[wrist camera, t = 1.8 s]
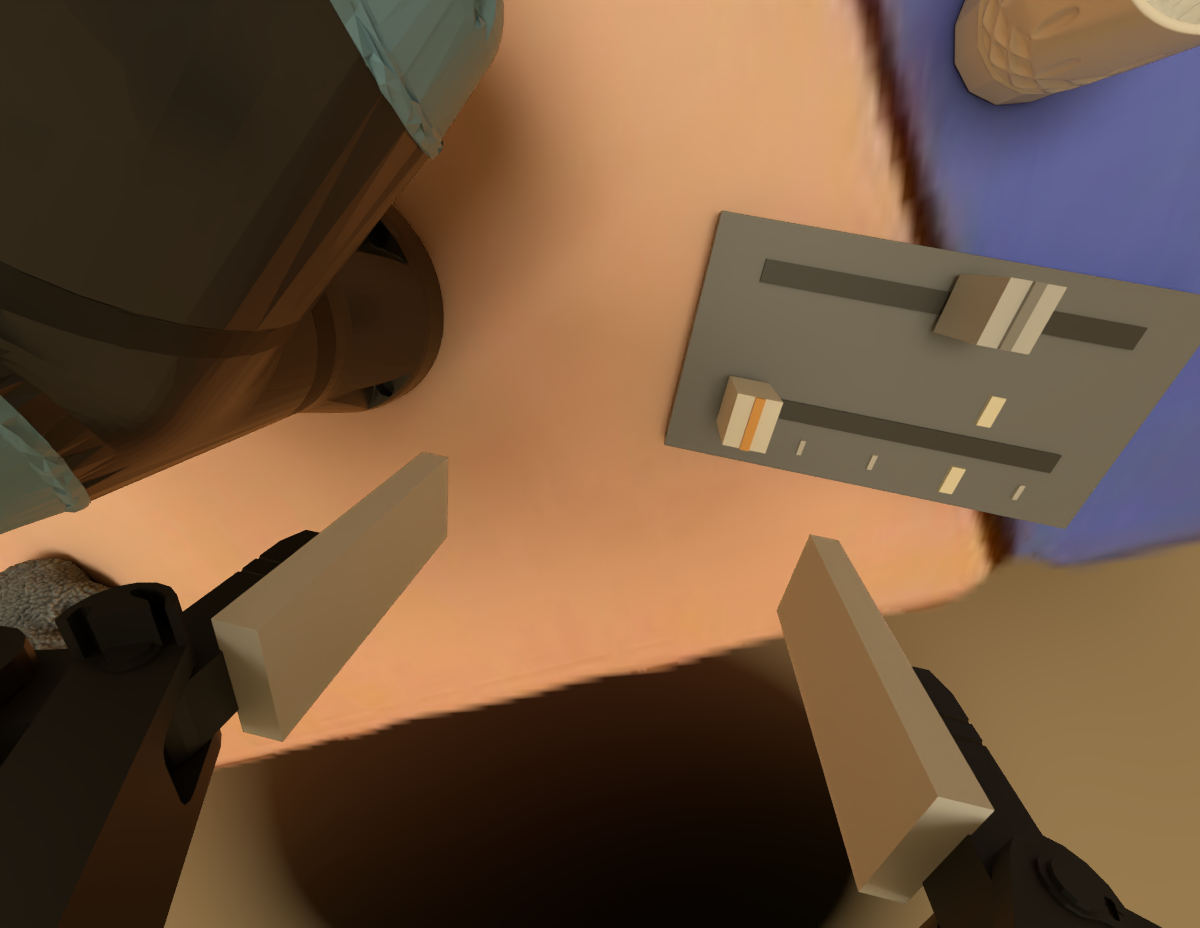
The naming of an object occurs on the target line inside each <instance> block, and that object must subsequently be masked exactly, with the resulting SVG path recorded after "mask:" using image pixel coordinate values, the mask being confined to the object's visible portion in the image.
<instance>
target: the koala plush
mask: <svg viewBox="0 0 1200 928" xmlns="http://www.w3.org/2000/svg"><path fill="white" fill-rule="evenodd" d="M107 589H110V587H107V586H103V585H102V584H98V583H94V582H92V581H91V580H90V578H89V577H88V576H87V575H86V574H85V573H84V571H82V570H81V569H80V568H78V567H77V566H76V564H72V562H71V561H65V560H62V559H59V558H49V559H46V558H45V559H37V560H28V561H25V562H23V563H18V564H15V565H14V566H10V567H9V568H7V569H6V570H5V571H3V572H1V573H0V626H6V627H13V628H18V629H19V630H20V631H21V632H23V633H24V634H25V635H26V637H27V638H28V640H29V642H30V644H31V646H32V648H33V650H46V649H68V648H67V646H66V644H65V642H64V639H63V637H62V635H61V633H60V631H59V629H58V627H57V625H56V623H55V621H54V620H55V619H56V618H57V617H59V616H60V615H61V614H62V613H63V612H64V611H65V610H67V609H68V608H69V607H70V606H72V605H74V604H76V603H78V602H79V601H81V600H83V599H85V598H87V597H89V596H90V595H93V594H96V593H99V592H102V591H104V590H107Z"/></svg>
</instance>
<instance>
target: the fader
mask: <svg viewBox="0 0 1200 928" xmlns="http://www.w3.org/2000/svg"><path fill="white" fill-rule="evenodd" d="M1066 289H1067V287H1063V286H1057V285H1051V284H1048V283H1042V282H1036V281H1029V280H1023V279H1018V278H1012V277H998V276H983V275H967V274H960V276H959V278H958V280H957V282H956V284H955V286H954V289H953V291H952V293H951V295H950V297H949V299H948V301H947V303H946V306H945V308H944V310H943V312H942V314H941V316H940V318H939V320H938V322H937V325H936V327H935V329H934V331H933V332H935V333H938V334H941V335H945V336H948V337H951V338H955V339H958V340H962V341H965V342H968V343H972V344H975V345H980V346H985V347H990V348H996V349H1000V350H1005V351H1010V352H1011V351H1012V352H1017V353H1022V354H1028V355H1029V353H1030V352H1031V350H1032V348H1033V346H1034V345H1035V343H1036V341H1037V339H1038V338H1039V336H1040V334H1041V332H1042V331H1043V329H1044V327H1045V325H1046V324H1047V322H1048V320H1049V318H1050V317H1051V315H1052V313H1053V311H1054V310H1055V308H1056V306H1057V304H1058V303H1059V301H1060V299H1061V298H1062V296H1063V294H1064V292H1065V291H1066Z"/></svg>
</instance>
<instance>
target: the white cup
mask: <svg viewBox="0 0 1200 928" xmlns="http://www.w3.org/2000/svg"><path fill="white" fill-rule="evenodd" d="M1198 46H1200V0H965V1H964V4H963V6H962V9H961V12H960V14H959V17H958V19H957V22H956V24H955V65H956V67H957V69H958V71H959V73H960V75H961V77H962V79H963V81H964V83H965V85H966V87H967V89H968V91H969V92H971V93H973V94H975V95H977V96H979V97H981V98H983V99H985V100H987V101H989V102H991V103H993V104H995V105H1003V104H1014V103H1025V102H1032V101H1035V100H1038V99H1041V98H1043V97H1046V96H1049V95H1051V94H1054V93H1057V92H1061V91H1065V90H1069V89H1073V88H1077V87H1080V86H1084V85H1087V84H1090V83H1093V82H1095V81H1098V80H1101V79H1104V78H1108V77H1111V76H1115V75H1118V74H1121V73H1124V72H1127V71H1130V70H1133V69H1136V68H1138V67H1141V66H1144V65H1147V64H1150V63H1153V62H1155V61H1158V60H1161V59H1164V58H1167V57H1170V56H1172V55H1175V54H1178V53H1181V52H1184V51H1187V50H1189V49H1192V48H1195V47H1198Z"/></svg>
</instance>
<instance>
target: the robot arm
mask: <svg viewBox="0 0 1200 928" xmlns="http://www.w3.org/2000/svg"><path fill="white" fill-rule="evenodd" d="M503 24H504V2H503V0H0V534H3V533H5V532H8V531H11V530H13V529H16V528H19V527H21V526H24V525H27V524H30V523H33V522H36V521H39V520H42V519H45V518H48V517H51V516H54V515H57V514H60V513H63V512H77V511H80V510H82V509H85V508H86V507H88V505H89V503H91V501H92V500H94V499H97V498H99V497H101V496H104V495H106V494H108V493H111V492H113V491H115V490H118V489H120V488H122V487H125V486H127V485H129V484H132V483H134V482H136V481H139V480H141V479H143V478H146V477H148V476H150V475H153V474H155V473H157V472H160V471H162V470H165V469H167V468H169V467H172V466H174V465H176V464H179V463H181V462H183V461H186V460H188V459H190V458H193V457H195V456H197V455H200V454H202V453H204V452H207V451H209V450H211V449H214V448H216V447H218V446H221V445H223V444H225V443H228V442H230V441H232V440H235V439H237V438H240V437H242V436H244V435H247V434H249V433H251V432H254V431H256V430H258V429H261V428H263V427H265V426H268V425H270V424H272V423H275V422H277V421H279V420H281V419H283V418H286V417H288V416H291V415H293V414H296V413H347V412H360V411H366V410H370V409H374V408H377V407H380V406H383V405H385V404H387V403H389V402H391V401H393V400H395V399H397V398H399V397H401V396H403V395H404V394H406V393H408V392H409V391H411V390H412V389H413V388H414V387H416V386H417V385H418V384H419V383H420V382H421V381H422V379H423V378H424V377H425V376H426V374H427V373H428V371H429V370H430V368H431V366H432V365H433V363H434V360H435V358H436V356H437V353H438V350H439V346H440V342H441V337H442V330H443V306H442V298H441V292H440V287H439V283H438V280H437V276H436V273H435V270H434V268H433V265H432V263H431V260H430V258H429V256H428V254H427V252H426V250H425V248H424V246H423V244H422V243H421V241H420V239H419V238H418V236H417V235H416V233H415V232H414V230H413V229H412V228H411V226H410V225H409V224H408V222H407V221H406V220H405V219H404V218H403V216H402V215H401V214H400V213H399V212H398V211H397V210H396V209H395V208H394V207H393V206H392V205H391V204H392V203H393V202H394V200H395V199H396V198H397V197H398V195H399V194H400V193H401V192H402V190H403V189H404V188H405V186H406V185H407V184H408V183H409V181H410V180H411V179H412V178H413V176H414V175H415V174H416V173H417V171H418V170H419V169H420V168H421V166H422V165H423V164H424V163H425V161H426V160H427V159H428V158H431V159H432V160H433V159H434V158H435V157H437V156H438V155H439V153H440V151H441V150H442V148H443V141H442V138H443V136H444V135H445V133H446V132H447V130H448V129H449V127H450V126H451V124H452V123H453V121H454V119H455V118H456V116H457V115H458V113H459V112H460V110H461V109H462V107H463V106H464V104H465V103H466V101H467V100H468V98H469V97H470V95H471V93H472V92H473V90H474V89H475V87H476V86H477V84H478V83H479V81H480V80H481V78H482V77H483V75H484V74H485V72H486V71H487V69H488V68H489V66H490V65H491V63H492V62H493V60H494V58H495V56H496V53H497V51H498V48H499V45H500V42H501V37H502V32H503ZM447 506H448V457H444V456H439V455H435V454H430V453H425V452H422V453H421V454H419V455H418V456H417V457H416V458H414V459H413V460H412V461H410V462H409V463H408V464H407V465H405V466H404V467H403V468H402V469H400V470H399V471H398V472H397V473H395V474H394V475H393V476H391V477H390V478H389V479H388V480H386V481H385V482H384V483H383V484H381V485H380V486H379V487H378V488H376V489H375V490H374V491H372V492H371V493H370V494H369V495H367V496H366V497H365V498H364V499H362V500H361V501H360V502H358V503H357V504H356V505H355V506H353V507H352V508H351V509H350V510H348V511H347V512H346V513H345V514H343V515H342V516H341V517H339V518H338V519H337V520H336V521H334V522H333V523H332V524H331V525H329V526H328V527H327V528H326V529H324V530H323V531H322V532H320V533H318V532H313V531H309V530H305V531H302V532H300V533H298V534H295V535H293V536H290V537H288V538H286V539H283V540H281V541H279V542H278V543H276V544H275V545H274V546H272V547H271V548H270V549H268V550H267V551H265V552H264V553H263V554H261V555H260V557H259V559H255V560H253V561H252V562H250V563H249V564H248V565H246V566H245V567H244V568H243V569H242V571H241V572H237V573H235V574H234V575H233V576H231V577H230V578H228V579H227V580H226V581H224V582H223V583H222V584H220V585H219V586H217V587H216V588H215V589H213V590H212V591H211V592H209V593H208V594H207V595H205V596H204V597H202V598H201V599H200V600H198V601H197V602H196V603H194V604H193V605H191V606H190V607H189V608H187V609H186V610H185V611H183V612H182V609H181V606H180V603H179V600H178V597H177V594H176V593H175V592H174V591H173V589H172V588H171V587H170V586H166V585H163V584H160V583H133V584H127V585H122V586H117V587H113V588H110V589H107V590H104V591H102V592H99V593H96V594H93V595H90V596H89V597H87V598H85V599H83V600H81V601H79V602H78V603H76V604H74V605H72V606H70V607H69V608H68V609H67V610H65V611H64V612H63V613H62V614H61V615H60V616H59V617H57V618H56V619H55V620H54V621H55V623H56V625H57V627H58V629H59V631H60V633H61V635H62V637H63V639H64V642H65V644H66V646H67V648H68V649H46V650H33V648H32V646H31V644H30V642H29V640H28V638H27V637H26V635H25V634H24V633H23V632H21V631H20V630H19V629H18V628H13V627H6V626H0V928H164V925H165V922H166V919H167V915H168V912H169V909H170V906H171V902H172V899H173V896H174V893H175V890H176V887H177V884H178V881H179V877H180V874H181V871H182V868H183V865H184V862H185V858H186V855H187V852H188V849H189V846H190V843H191V839H192V836H193V833H194V830H195V826H196V823H197V820H198V817H199V814H200V810H201V808H202V804H203V801H204V798H205V795H206V792H207V788H208V785H209V782H210V779H211V776H212V773H213V770H214V766H215V763H216V760H217V757H218V754H219V750H220V747H221V731H220V728H221V727H222V726H223V725H224V724H225V723H226V722H227V721H228V720H229V719H230V718H231V717H232V716H233V715H234V714H235V712H236V711H237V712H238V715H239V719H240V722H241V726H242V729H243V732H246V733H250V734H254V735H258V736H262V737H265V738H269V739H273V740H277V741H281V742H283V741H284V740H285V738H286V737H287V736H288V735H289V733H290V732H291V731H292V730H293V728H294V727H295V726H296V725H297V723H298V722H299V721H300V720H301V718H302V717H303V716H304V715H305V713H306V712H307V711H308V710H309V708H310V707H311V706H312V705H313V703H314V702H315V701H316V700H317V698H318V697H319V696H320V695H321V693H322V692H323V691H324V690H325V688H326V687H327V686H328V685H329V683H330V682H331V681H332V680H333V678H334V677H335V676H336V675H337V673H338V672H339V671H340V670H341V668H342V667H343V666H344V665H345V663H346V662H347V661H348V660H349V658H350V657H351V656H352V655H353V653H354V652H355V651H356V650H357V648H358V647H359V646H360V645H361V643H362V642H363V641H364V640H365V638H366V637H367V636H368V635H369V633H370V632H371V631H372V630H373V628H374V627H375V626H376V625H377V623H378V622H379V621H380V620H381V619H382V617H383V616H384V615H385V614H386V612H387V611H388V610H389V609H390V607H391V606H392V605H393V604H394V602H395V601H396V600H397V599H398V597H399V596H400V595H401V594H402V592H403V591H404V590H405V589H406V587H407V586H408V585H409V584H410V582H411V581H412V580H413V579H414V577H415V576H416V575H417V574H418V572H419V571H420V570H421V569H422V567H423V566H424V565H425V564H426V562H427V561H428V560H429V559H430V557H431V556H432V555H433V554H434V552H435V551H436V550H437V549H438V547H439V546H440V545H441V544H442V542H443V541H444V540H445V539H446V537H447ZM777 613H778V617H779V620H780V623H781V627H782V630H783V634H784V637H785V641H786V644H787V648H788V651H789V654H790V658H791V661H792V664H793V668H794V671H795V675H796V678H797V682H798V685H799V688H800V692H801V696H802V699H803V702H804V706H805V709H806V713H807V716H808V719H809V723H810V727H811V730H812V733H813V737H814V740H815V744H816V747H817V750H818V754H819V757H820V760H821V764H822V768H823V771H824V774H825V778H826V781H827V785H828V788H829V792H830V795H831V798H832V802H833V805H834V809H835V812H836V816H837V819H838V822H839V826H840V829H841V833H842V836H843V840H844V843H845V846H846V850H847V853H848V857H849V860H850V864H851V867H852V871H853V874H854V878H855V881H856V884H857V888H858V891H859V892H862V893H866V894H870V895H874V896H878V897H882V898H885V899H889V900H893V901H897V902H901V903H907V902H908V901H909V900H910V899H911V898H912V897H913V895H914V894H915V893H916V892H917V891H918V890H919V889H920V888H921V887H922V886H924V889H925V891H926V893H927V896H928V899H929V901H930V904H931V906H932V909H933V911H934V914H933V915H932V916H931V917H930V918H929V919H928V920H927V921H925V922H924V923H923V924H922V925H921V926H920V927H919V928H1161V927H1159V926H1158V925H1156V924H1154V923H1152V922H1150V921H1149V920H1147V919H1145V918H1142V917H1141V916H1139V915H1137V914H1135V913H1134V912H1132V911H1130V910H1128V909H1126V908H1125V907H1124V906H1123V905H1122V903H1121V902H1120V901H1119V899H1118V898H1117V896H1116V895H1115V894H1114V892H1113V891H1112V889H1111V888H1110V887H1109V885H1108V884H1107V883H1106V882H1105V881H1104V880H1103V879H1102V878H1101V877H1100V876H1098V874H1096V872H1095V871H1094V870H1093V869H1092V868H1091V867H1090V866H1089V865H1088V864H1087V863H1086V862H1084V861H1083V860H1082V859H1080V858H1079V857H1078V856H1076V855H1075V854H1073V853H1072V852H1071V851H1069V850H1068V849H1067V848H1066V847H1064V846H1063V845H1061V844H1059V843H1057V842H1055V841H1053V840H1051V839H1049V838H1047V837H1045V836H1043V835H1042V834H1041V832H1040V831H1039V829H1038V827H1037V826H1036V824H1035V823H1034V821H1033V820H1032V818H1031V816H1030V815H1029V813H1028V812H1027V810H1026V809H1025V807H1024V806H1023V804H1022V802H1021V801H1020V799H1019V798H1018V796H1017V794H1016V793H1015V791H1014V790H1013V788H1012V787H1011V785H1010V784H1009V782H1008V780H1007V779H1006V777H1005V776H1004V774H1003V772H1002V771H1001V769H1000V768H999V766H998V765H997V763H996V762H995V760H994V758H993V757H992V755H991V754H990V752H989V750H988V749H987V747H986V746H983V745H982V739H981V738H980V736H979V735H978V733H977V732H976V730H975V728H974V727H973V725H972V724H969V723H968V720H969V719H968V717H967V716H966V714H965V713H964V711H963V710H962V708H961V706H960V705H959V703H958V702H957V700H956V699H955V697H954V696H953V694H952V693H951V692H950V691H949V690H948V689H947V688H946V687H945V686H944V685H943V684H942V683H941V682H940V681H939V680H938V679H937V678H936V677H935V676H934V675H933V674H932V673H931V672H930V671H929V670H925V669H921V668H917V667H912V666H911V665H910V663H909V662H908V660H907V658H906V656H905V655H904V653H903V651H902V649H901V648H900V646H899V644H898V642H897V641H896V639H895V637H894V635H893V634H892V632H891V630H890V629H889V627H888V625H887V623H886V622H885V620H884V618H883V616H882V615H881V613H880V611H879V610H878V608H877V606H876V604H875V603H874V601H873V599H872V597H871V596H870V594H869V592H868V591H867V589H866V587H865V585H864V584H863V582H862V580H861V578H860V577H859V575H858V573H857V572H856V570H855V568H854V566H853V565H852V563H851V561H850V559H849V558H848V556H847V554H846V552H845V551H844V549H843V547H842V546H841V544H840V542H839V540H834V539H829V538H825V537H820V536H815V535H811V534H810V535H809V538H808V540H807V542H806V545H805V547H804V549H803V551H802V554H801V556H800V558H799V561H798V563H797V565H796V568H795V570H794V572H793V574H792V577H791V579H790V581H789V584H788V586H787V588H786V591H785V593H784V595H783V597H782V600H781V602H780V604H779V607H778V609H777Z"/></svg>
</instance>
